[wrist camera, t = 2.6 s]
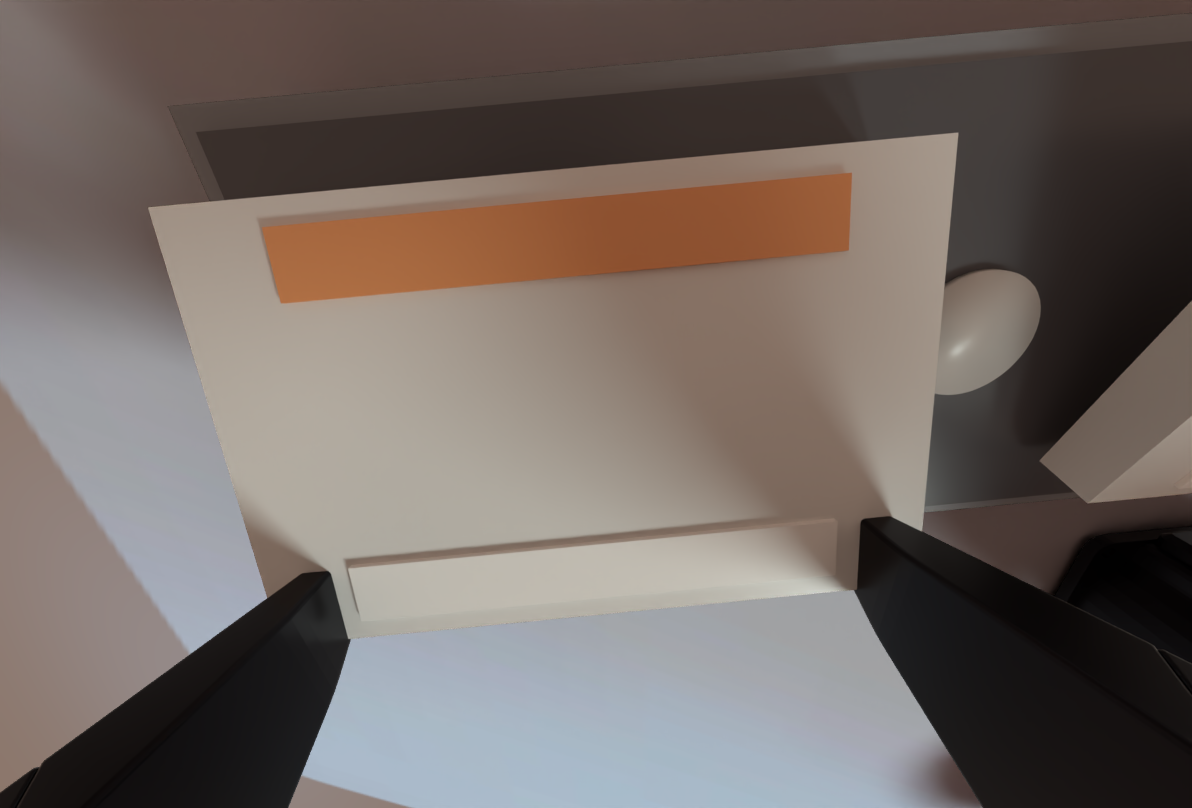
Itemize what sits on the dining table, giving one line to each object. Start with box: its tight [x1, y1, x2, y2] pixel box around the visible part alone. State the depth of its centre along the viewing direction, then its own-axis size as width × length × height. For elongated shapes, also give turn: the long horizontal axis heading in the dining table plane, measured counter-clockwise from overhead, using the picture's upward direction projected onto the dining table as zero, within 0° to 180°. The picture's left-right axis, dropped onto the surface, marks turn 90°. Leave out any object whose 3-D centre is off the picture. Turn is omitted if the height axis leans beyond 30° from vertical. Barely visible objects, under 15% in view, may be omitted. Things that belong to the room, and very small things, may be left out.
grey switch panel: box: [168, 13, 1192, 513], centre depth 10 cm, size 10×28×3 cm, turn 95°
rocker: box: [148, 133, 958, 639], centre depth 7 cm, size 7×11×1 cm, turn 94°
